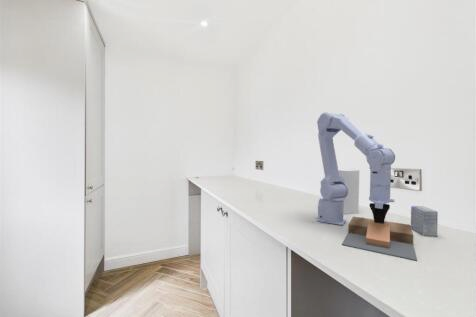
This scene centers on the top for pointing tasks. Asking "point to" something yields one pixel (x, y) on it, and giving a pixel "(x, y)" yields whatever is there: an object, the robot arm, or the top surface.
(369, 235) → the tan rectangular slab
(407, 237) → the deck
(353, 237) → the mat
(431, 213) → the medicine box
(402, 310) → the top surface
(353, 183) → the canister
